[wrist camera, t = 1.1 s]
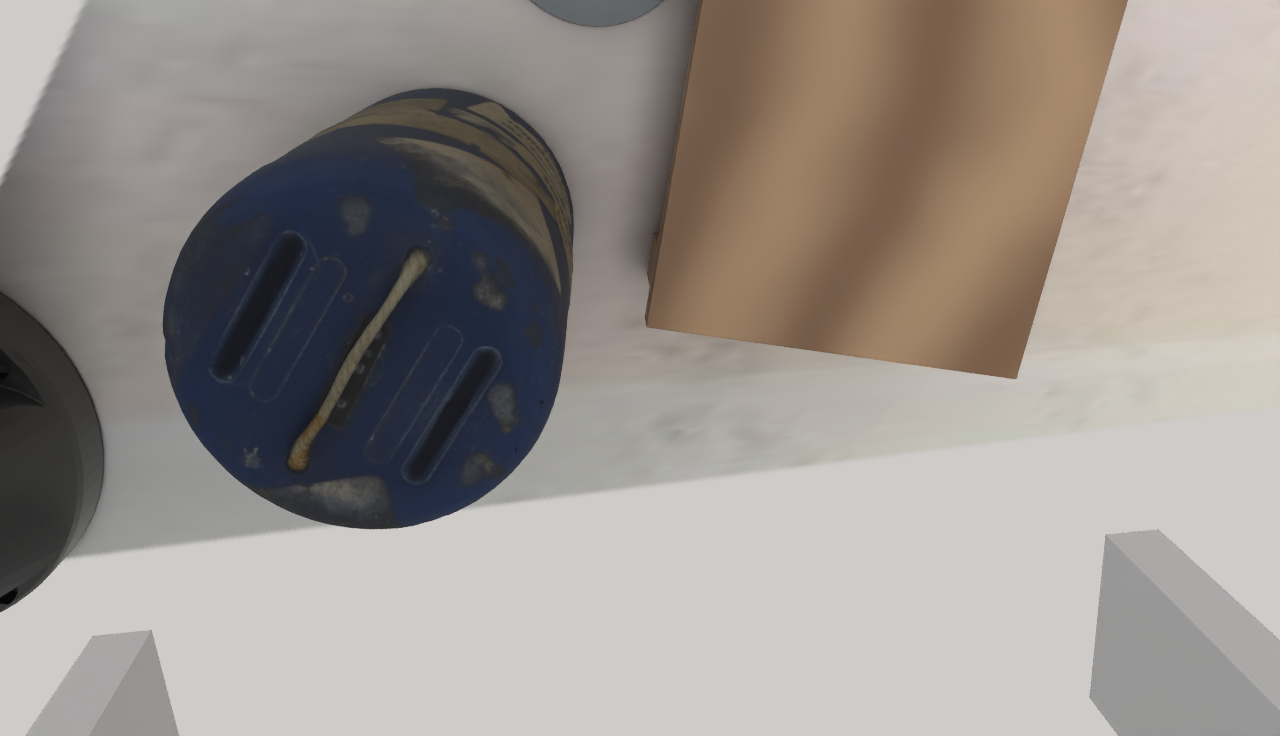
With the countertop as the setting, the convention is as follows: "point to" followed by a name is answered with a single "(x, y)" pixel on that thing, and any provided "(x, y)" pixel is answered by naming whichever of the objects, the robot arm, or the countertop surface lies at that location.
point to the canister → (379, 312)
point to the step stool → (877, 173)
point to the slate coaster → (597, 10)
